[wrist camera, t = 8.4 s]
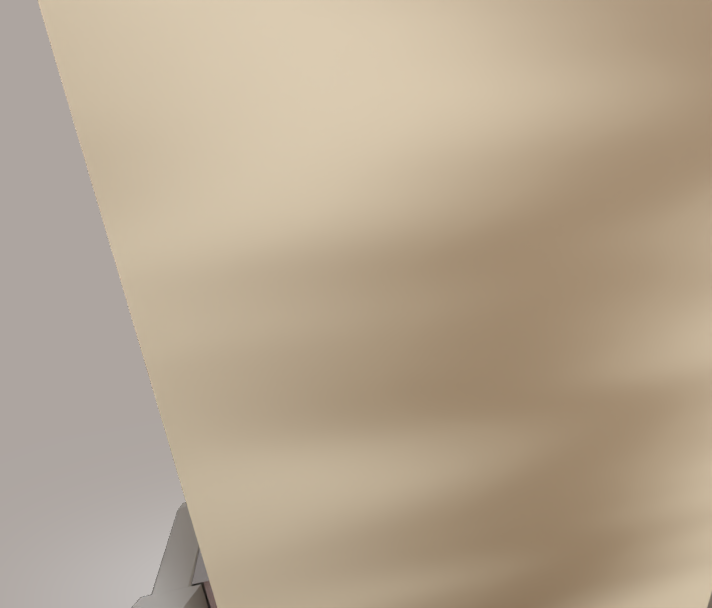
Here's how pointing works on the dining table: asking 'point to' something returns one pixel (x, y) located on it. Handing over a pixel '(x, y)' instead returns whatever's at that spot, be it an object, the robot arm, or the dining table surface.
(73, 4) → the rail post
